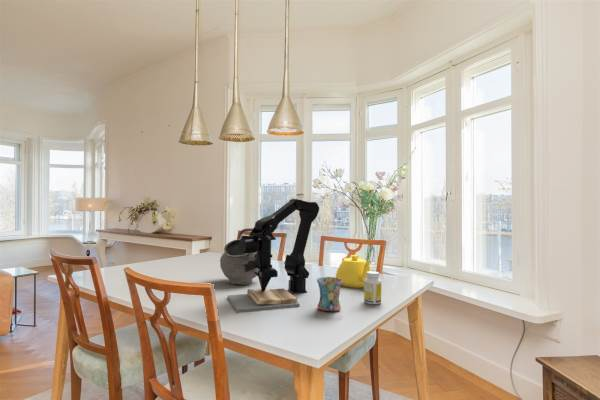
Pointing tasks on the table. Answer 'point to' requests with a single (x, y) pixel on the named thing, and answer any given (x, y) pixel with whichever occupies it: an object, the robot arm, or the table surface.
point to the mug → (329, 293)
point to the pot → (236, 262)
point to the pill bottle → (372, 288)
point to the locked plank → (284, 296)
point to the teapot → (353, 271)
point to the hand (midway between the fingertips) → (263, 291)
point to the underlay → (254, 304)
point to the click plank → (264, 296)
